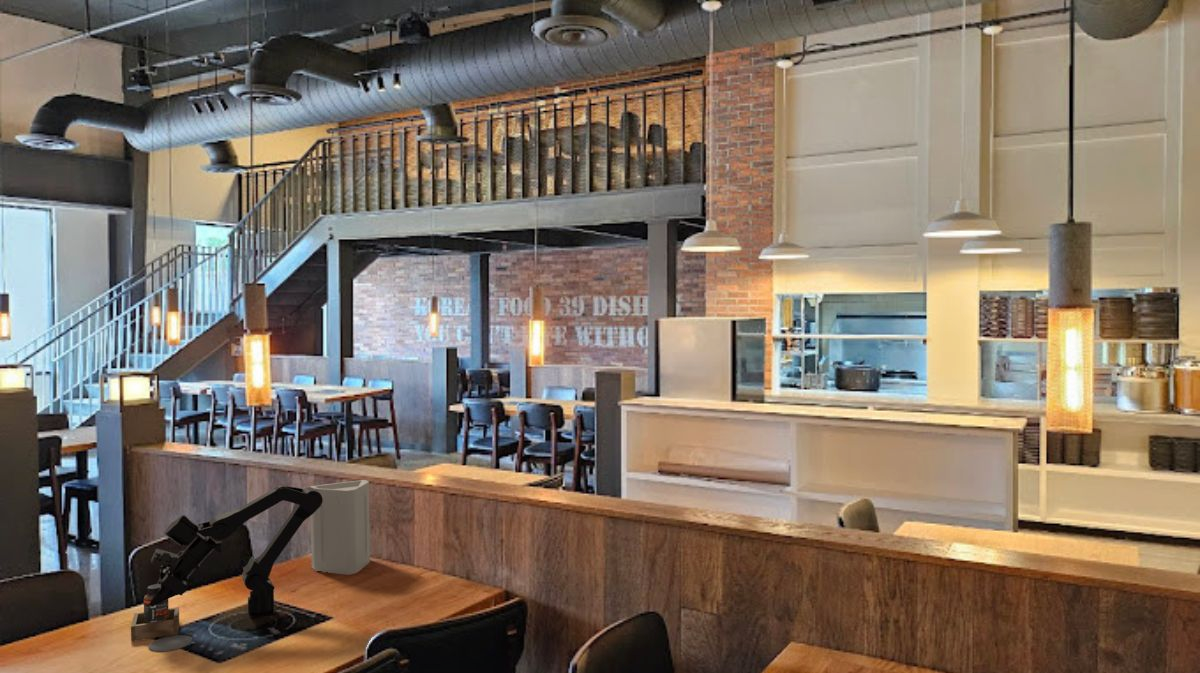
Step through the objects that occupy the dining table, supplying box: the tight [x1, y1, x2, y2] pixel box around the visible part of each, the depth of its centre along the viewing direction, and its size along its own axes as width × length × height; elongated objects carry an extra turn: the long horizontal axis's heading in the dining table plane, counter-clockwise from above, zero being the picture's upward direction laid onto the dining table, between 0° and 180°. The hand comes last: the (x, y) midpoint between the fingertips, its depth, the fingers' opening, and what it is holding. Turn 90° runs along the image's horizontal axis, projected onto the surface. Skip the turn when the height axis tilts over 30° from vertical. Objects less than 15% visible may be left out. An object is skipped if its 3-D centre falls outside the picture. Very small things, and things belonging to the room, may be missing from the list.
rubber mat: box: [148, 634, 193, 653], centre depth 216 cm, size 10×10×1 cm
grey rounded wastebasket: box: [309, 479, 371, 576], centre depth 280 cm, size 19×15×28 cm
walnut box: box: [130, 606, 180, 642], centre depth 225 cm, size 11×11×4 cm
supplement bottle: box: [143, 583, 169, 624], centre depth 225 cm, size 6×6×11 cm
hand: (150, 602), depth 225 cm, fingers closed on supplement bottle, 6 cm apart
